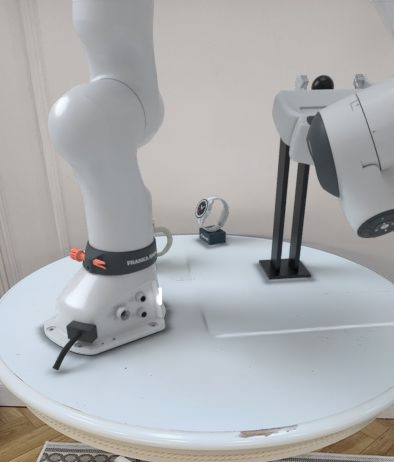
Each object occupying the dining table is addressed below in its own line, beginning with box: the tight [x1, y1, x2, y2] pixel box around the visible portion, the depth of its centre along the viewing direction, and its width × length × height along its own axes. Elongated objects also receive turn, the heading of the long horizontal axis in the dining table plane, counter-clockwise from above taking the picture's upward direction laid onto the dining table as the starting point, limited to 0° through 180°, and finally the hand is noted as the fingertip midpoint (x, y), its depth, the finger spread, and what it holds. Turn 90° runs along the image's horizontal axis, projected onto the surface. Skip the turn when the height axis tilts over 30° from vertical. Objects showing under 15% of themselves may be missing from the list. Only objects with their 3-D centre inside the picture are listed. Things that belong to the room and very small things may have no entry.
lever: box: [310, 74, 335, 90], centre depth 92 cm, size 17×4×4 cm
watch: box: [194, 195, 230, 246], centre depth 126 cm, size 6×8×11 cm
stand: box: [258, 136, 312, 281], centre depth 106 cm, size 9×9×30 cm
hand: (329, 78), depth 82 cm, fingers open, 8 cm apart
